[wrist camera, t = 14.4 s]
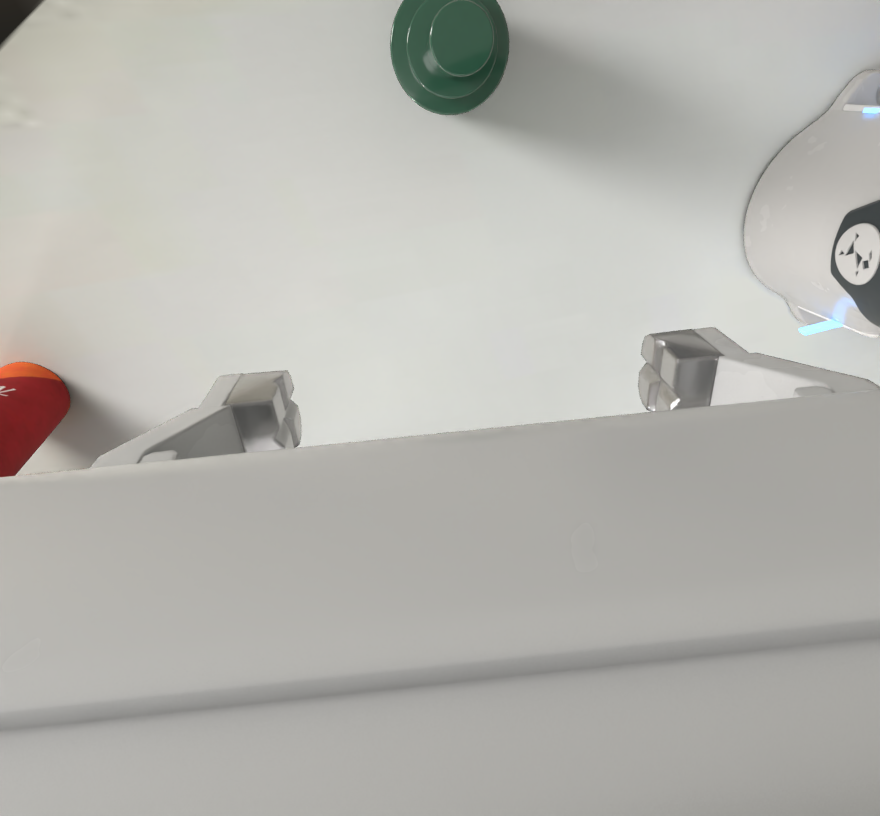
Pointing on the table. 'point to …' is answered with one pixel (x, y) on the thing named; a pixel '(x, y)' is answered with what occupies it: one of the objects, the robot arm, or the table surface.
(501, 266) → the table surface
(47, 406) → the coffee cup
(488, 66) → the bottle
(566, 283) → the table surface
